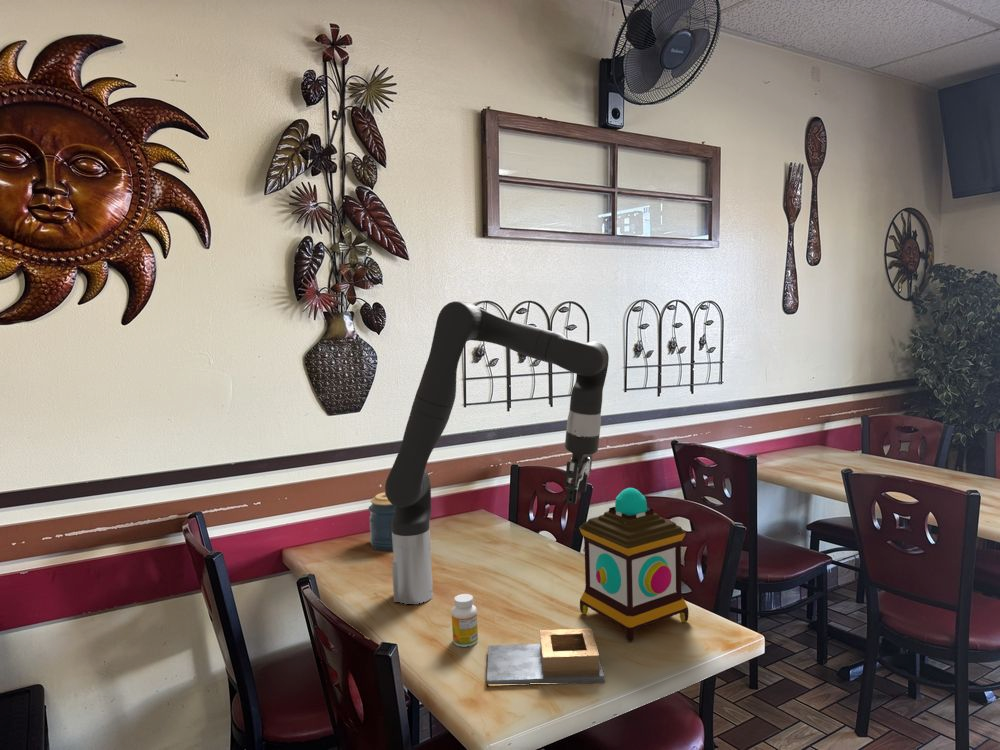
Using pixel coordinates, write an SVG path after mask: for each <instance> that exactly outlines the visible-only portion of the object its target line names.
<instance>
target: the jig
mask: <svg viewBox="0 0 1000 750" xmlns="http://www.w3.org/2000/svg"><path fill="white" fill-rule="evenodd" d="M486 670H487V671H486V685H487V684H530V683H576V684H594V683H593V682H603V683H605V674H604V671H603V666H602V664H601V660H600V654H599V651H598V646H597V643H596V639H595V636H594V633H593V629H592V628H568V629H565V628H563V629H542V630H541V629H540V630H539V643H527V644H525V643H523V644H499V645H498V644H497V645H495V644H493V645H488V646H487V669H486Z"/></svg>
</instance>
